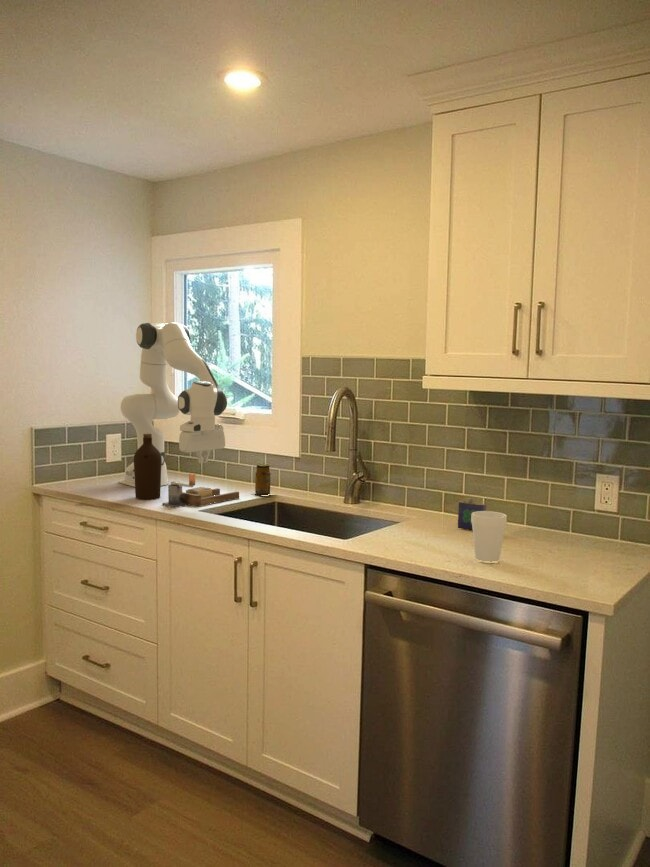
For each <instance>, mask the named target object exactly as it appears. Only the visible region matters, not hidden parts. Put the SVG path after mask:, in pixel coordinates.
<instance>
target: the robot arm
mask: <svg viewBox="0 0 650 867" xmlns="http://www.w3.org/2000/svg"><path fill="white" fill-rule="evenodd" d="M135 338H136V339H135V341H136V343H137V345H138V346H139V347H140V348H141V349H142V350H141V355H140V364H139V365H140V367H139V379H140V381H141V383H143V384H144V385H145V386H147V387H149V388H150V389H151V390H150V392H151V393H136V394H134V393H133V394H130V395H126V396H124V398H123V399H122V400H121V402H120V412H121V414H122V416H123V417H124V418H125V419H126V420H128V421H129V422H130V423H131V425H132V426H133V427H134V430H135V432H136V436H137V438H136V439H137V450H138V449H139V448H140V447H141V446H142V444H143V437H144V436H143V434H152V444H153V445H154V446H155V447H156V448H157V450H158V451H159V452H160V454H161V457H162V464H161V487H162V486H166V485H167V486H168V485H169V482H170V479H169V478H168V470H167V469H168V468H167V464H166V462H165V461H166V450H165V434H164V432H163V431H162V430H161V429H159V428H157V427H155V426H154V425H153V422H152V420H167V419H171V418H175V417H177V416H178V414H179V413H180V412H181V413H182V414H183V415H186V416H190V420H188V421H187V422H185V423H182V424H180V425H179V431H180V433H179V436H178V449H179V451H180V452H181V453H186V454H187V453H195V455H196V457H197V460H198V464H204V463H205V464H206V463H208V461H209V456H210V455H211V451H213V450H221V449H225V447H226V438H225V437H226V436H225V432H224V427H223V425H222V424H220V423H218V424H216V417H217V416H220V415H221V414H222V413H224V411H225V410H226V409H227V405H228V399H227V396H226V394H225V393H224V391H223V389H222V388H220V386H219V384H218V382H217V380H216V378H215V376H214V374H213V373H212V372H213V371H212V370H211V369H210V367H209V365H208V363H207V362H206V361H205V358H203V357H202V356H200V355H199V354H198V353H197V352H196V351H195V350H194V348H193V347H192V345H191V331H190V330H189V328H188V326H186V325H185V324H182V323H178V322H172V321H171V322H153V323H152V322H151V323H150V322H144V323H141V324H139V326H138V327H137V328H136V332H135ZM168 365H169V366H170V367H171V368H173V369H175V370H178V371H181V372H185V373H188V374H191V375H193V376H195V377H197V378H198V380H195V381H192V383H191V385H190V387H189V388H187V389H185V390H182V391H181V392H180V393H179V394H178V397H177V396H176V395H175V394H174V393H173V392H172V391H171V389H170V387H169V384H168ZM133 454H134V455H135V452H133ZM118 483H119V484H123V485H127V486H130V487H134V488H135V475H134V461H133V462H132V463H131V464H129V465H128V466H127V467H126V468H125V470H124V478H121V479H119V480H118Z"/></svg>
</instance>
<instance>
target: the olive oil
mask: <svg viewBox="0 0 650 867" xmlns="http://www.w3.org/2000/svg"><path fill="white" fill-rule="evenodd" d="M143 436H144V437H143V444H142V446H141V447H140V448H139V449H138V448H137V450H136V451H135V452H134V453H135V454H134V455H133V462H134V475H135V487H134V490H135V491H134V492H135V493H134V494H135V499H137V500H141V501H151V499H153V500H158V499H160V498H161V489H162V488H161V487H162V486H161V464H162V457H161V454H160V452H159V451H158V450H157V448H156V447H155V446H154V445H153V444H152V434H143ZM157 498H158V499H157Z"/></svg>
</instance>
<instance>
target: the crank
mask: <svg viewBox="0 0 650 867" xmlns="http://www.w3.org/2000/svg"><path fill="white" fill-rule="evenodd" d="M170 485H179V486H182V487H185V488H186V487H187V488H194V486H196V473H189V474H188V483H184V482H180V481H178V480H177V481H175V480H174V481H170Z"/></svg>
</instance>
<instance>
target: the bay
mask: <svg viewBox="0 0 650 867" xmlns="http://www.w3.org/2000/svg"><path fill="white" fill-rule="evenodd" d="M211 489H212V496H210V497H205V498H201V495H196V494H191V493H186V491H185V492H183V491H182V498H183V500H182V502H185V503H188V505H187V506H192V505H194V506H193V507H201V506H202V505H203V506H207V505H206V504H208V505H211V504H210V503H213V504H215V503H214V502H218V503H220V502H219V501H223V502H225V501H224V500H228V501H230V500H229V499H233V500H236V499H235V498H238V499H240V491H231V492H227V493H221V488H211ZM214 495H215V496H214ZM203 506H202V507H203Z"/></svg>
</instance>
